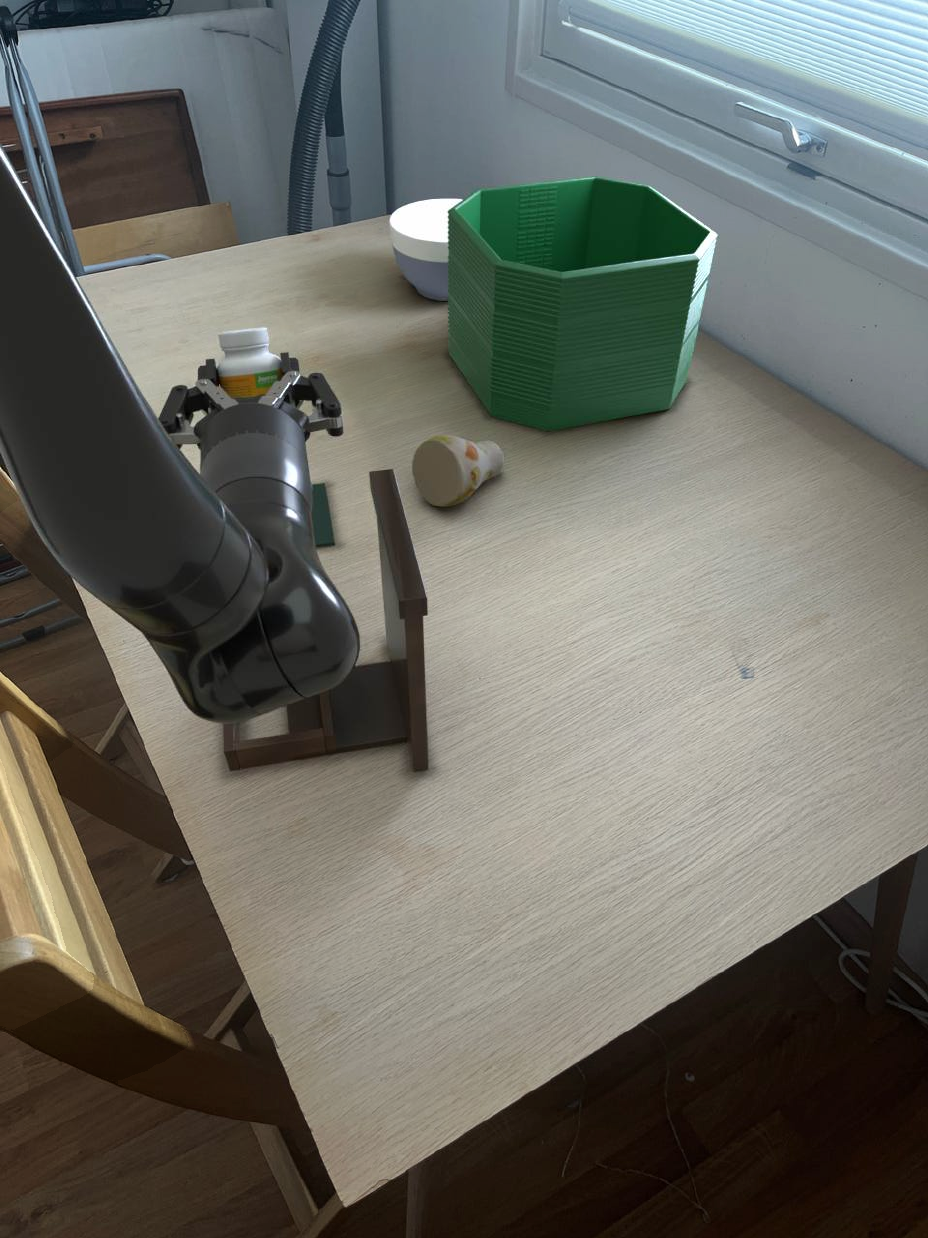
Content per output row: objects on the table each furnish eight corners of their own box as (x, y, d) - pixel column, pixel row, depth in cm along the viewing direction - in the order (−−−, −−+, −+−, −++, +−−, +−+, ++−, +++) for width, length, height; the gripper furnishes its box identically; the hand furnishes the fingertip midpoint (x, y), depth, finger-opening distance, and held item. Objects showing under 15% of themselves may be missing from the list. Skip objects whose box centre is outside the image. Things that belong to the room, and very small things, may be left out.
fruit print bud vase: (523, 479, 94) (511, 434, 84) (456, 539, 93) (435, 501, 84) (478, 436, 96) (461, 388, 87) (412, 494, 96) (387, 452, 86)
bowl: (474, 321, 120) (475, 250, 113) (372, 298, 124) (367, 229, 118) (519, 276, 130) (523, 209, 123) (423, 257, 135) (422, 191, 128)
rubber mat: (230, 558, 84) (230, 555, 84) (228, 497, 91) (228, 493, 91) (335, 545, 86) (334, 542, 85) (325, 485, 93) (325, 482, 92)
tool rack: (230, 803, 64) (175, 631, 52) (227, 665, 74) (180, 492, 62) (432, 769, 67) (427, 597, 54) (403, 640, 76) (393, 468, 64)
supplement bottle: (272, 454, 72) (249, 331, 69) (220, 455, 75) (195, 336, 71) (308, 440, 77) (288, 324, 73) (257, 441, 79) (236, 329, 76)
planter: (505, 440, 99) (513, 282, 86) (435, 336, 116) (433, 192, 103) (708, 403, 105) (744, 249, 92) (613, 309, 122) (632, 170, 110)
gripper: (354, 424, 60) (331, 315, 72) (135, 446, 58) (149, 330, 69) (362, 512, 65) (339, 397, 77) (162, 536, 63) (170, 413, 75)
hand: (249, 366), depth 73 cm, fingers closed on supplement bottle, 5 cm apart
